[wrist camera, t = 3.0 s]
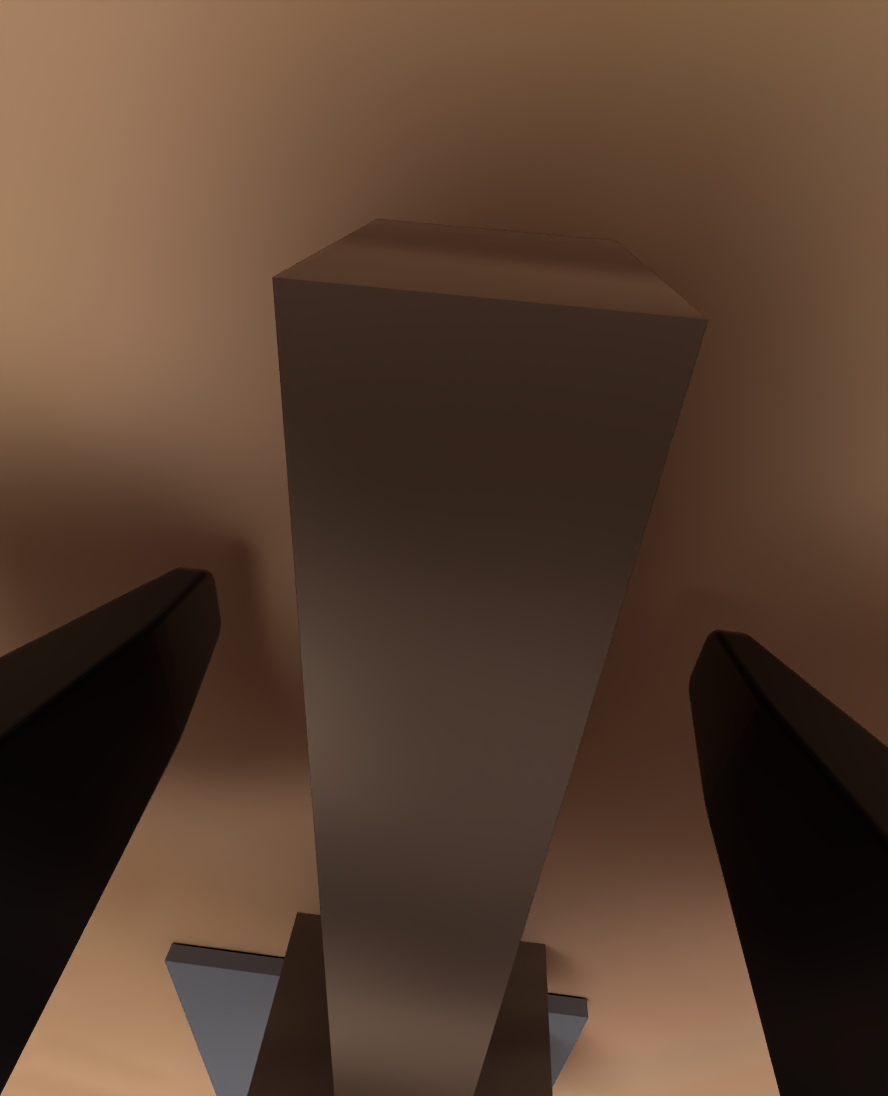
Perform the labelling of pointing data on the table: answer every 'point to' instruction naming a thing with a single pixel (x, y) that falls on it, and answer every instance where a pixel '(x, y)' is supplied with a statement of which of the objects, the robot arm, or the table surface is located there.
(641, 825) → the table surface
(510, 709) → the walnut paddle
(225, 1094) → the charcoal mat
